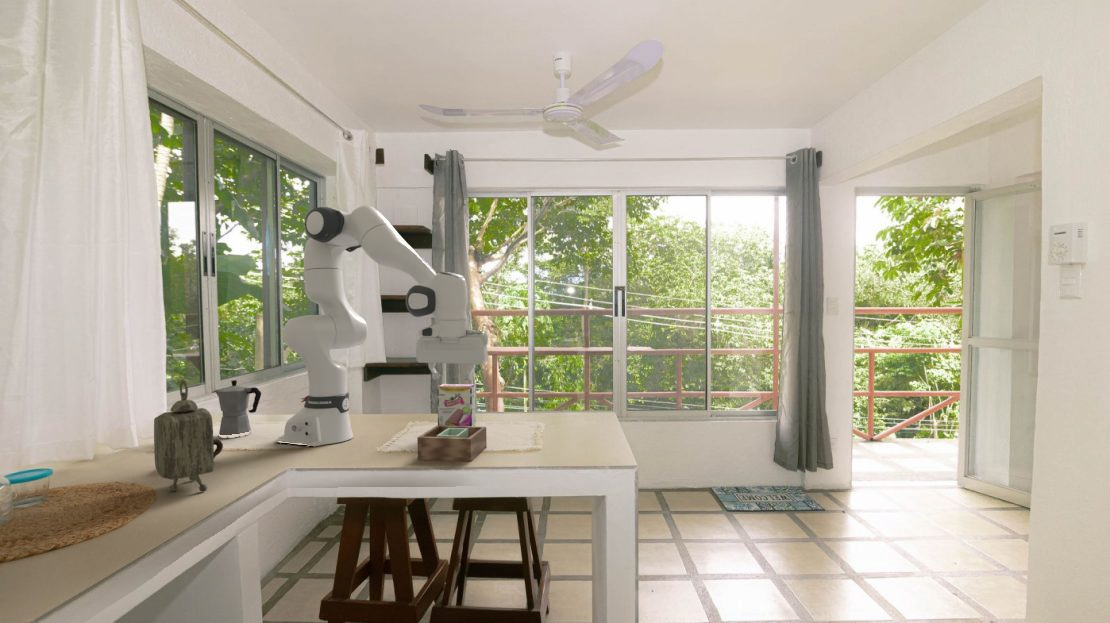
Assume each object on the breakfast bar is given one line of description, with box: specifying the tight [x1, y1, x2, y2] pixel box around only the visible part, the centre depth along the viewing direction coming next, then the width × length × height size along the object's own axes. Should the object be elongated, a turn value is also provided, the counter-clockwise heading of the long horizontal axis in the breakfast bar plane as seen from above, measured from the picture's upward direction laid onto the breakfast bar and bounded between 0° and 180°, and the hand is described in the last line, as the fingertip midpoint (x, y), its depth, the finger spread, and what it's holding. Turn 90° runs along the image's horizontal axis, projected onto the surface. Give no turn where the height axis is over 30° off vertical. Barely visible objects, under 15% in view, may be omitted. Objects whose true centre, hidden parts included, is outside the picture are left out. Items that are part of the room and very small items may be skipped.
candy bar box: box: [437, 383, 477, 427], centre depth 167 cm, size 11×5×16 cm, turn 84°
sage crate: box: [437, 428, 469, 438], centre depth 148 cm, size 6×9×5 cm, turn 171°
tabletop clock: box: [153, 379, 215, 492], centre depth 121 cm, size 14×9×25 cm, turn 45°
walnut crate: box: [417, 424, 488, 463], centre depth 148 cm, size 15×14×6 cm
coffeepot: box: [213, 379, 262, 435], centre depth 172 cm, size 15×9×18 cm, turn 88°
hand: (451, 379), depth 148 cm, fingers open, 8 cm apart
